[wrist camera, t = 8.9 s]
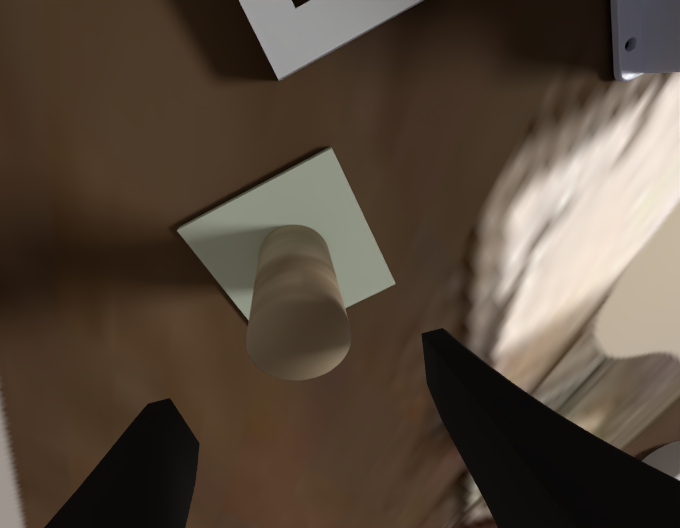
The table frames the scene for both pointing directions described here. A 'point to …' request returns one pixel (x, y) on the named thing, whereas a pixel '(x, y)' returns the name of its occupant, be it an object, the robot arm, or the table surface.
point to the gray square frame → (314, 27)
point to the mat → (290, 209)
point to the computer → (666, 459)
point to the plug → (296, 307)
